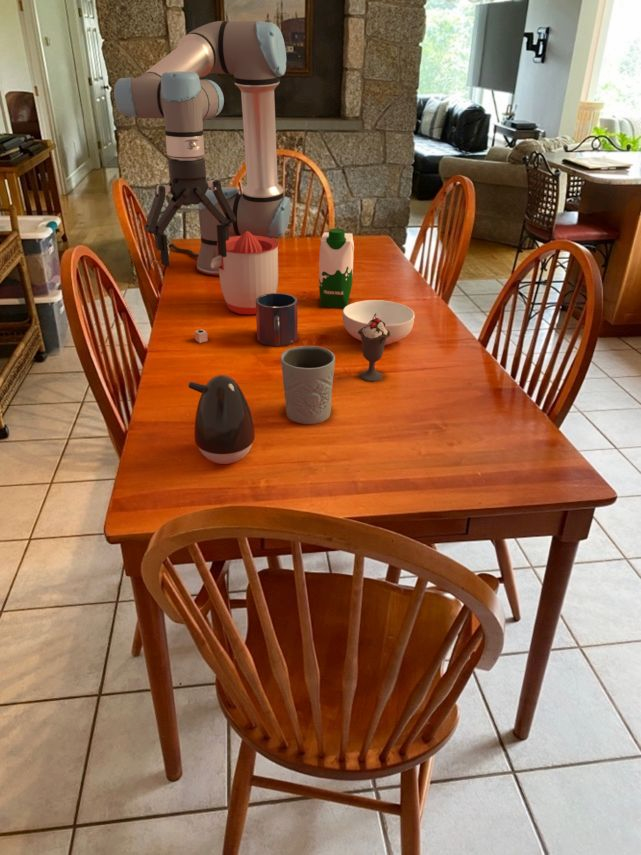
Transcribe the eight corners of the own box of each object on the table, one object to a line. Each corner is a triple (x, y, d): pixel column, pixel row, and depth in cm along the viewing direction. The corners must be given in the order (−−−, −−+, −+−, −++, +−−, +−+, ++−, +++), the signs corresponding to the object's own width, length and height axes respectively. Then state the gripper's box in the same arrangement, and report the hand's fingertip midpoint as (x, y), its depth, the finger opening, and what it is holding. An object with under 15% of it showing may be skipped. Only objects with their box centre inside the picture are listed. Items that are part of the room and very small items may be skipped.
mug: (257, 330, 163) (256, 292, 158) (296, 329, 163) (296, 292, 158) (256, 353, 151) (254, 313, 146) (298, 352, 152) (298, 313, 147)
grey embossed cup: (315, 431, 122) (316, 373, 116) (270, 416, 127) (269, 359, 121) (343, 409, 130) (345, 353, 124) (300, 395, 134) (300, 340, 128)
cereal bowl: (426, 339, 159) (429, 311, 156) (383, 360, 149) (385, 331, 145) (371, 320, 169) (373, 293, 165) (327, 339, 159) (327, 311, 155)
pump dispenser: (197, 440, 119) (190, 363, 111) (255, 438, 120) (252, 362, 112) (192, 473, 111) (184, 392, 103) (255, 471, 111) (252, 391, 104)
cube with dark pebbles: (195, 340, 157) (194, 330, 156) (203, 338, 158) (202, 328, 157) (199, 343, 155) (199, 333, 154) (207, 341, 157) (207, 331, 155)
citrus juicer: (209, 301, 179) (203, 225, 169) (271, 294, 184) (269, 221, 173) (220, 322, 166) (214, 242, 156) (286, 315, 171) (285, 237, 161)
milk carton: (317, 308, 176) (318, 232, 165) (320, 296, 183) (321, 223, 173) (350, 310, 175) (353, 233, 165) (352, 298, 183) (355, 224, 172)
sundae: (366, 385, 138) (370, 318, 131) (350, 372, 143) (353, 307, 136) (392, 379, 141) (398, 313, 133) (376, 367, 146) (380, 302, 138)
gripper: (133, 165, 127) (146, 273, 138) (249, 155, 139) (252, 255, 150) (120, 159, 132) (133, 264, 143) (232, 150, 144) (237, 247, 155)
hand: (194, 260), depth 147 cm, fingers open, 13 cm apart
